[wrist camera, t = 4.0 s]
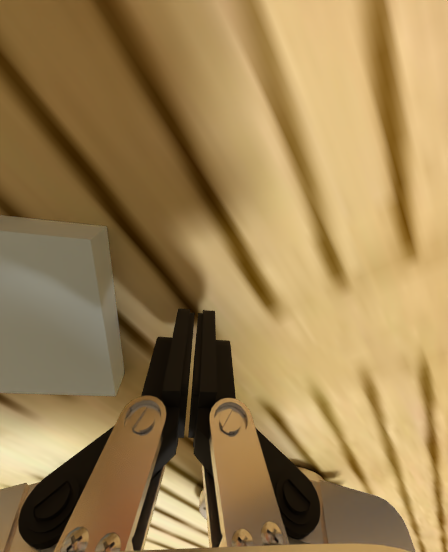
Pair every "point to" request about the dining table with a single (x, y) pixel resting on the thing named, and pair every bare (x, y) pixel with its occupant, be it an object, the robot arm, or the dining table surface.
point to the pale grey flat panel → (57, 309)
